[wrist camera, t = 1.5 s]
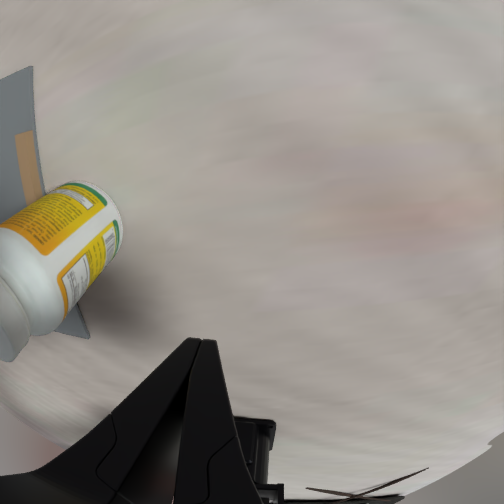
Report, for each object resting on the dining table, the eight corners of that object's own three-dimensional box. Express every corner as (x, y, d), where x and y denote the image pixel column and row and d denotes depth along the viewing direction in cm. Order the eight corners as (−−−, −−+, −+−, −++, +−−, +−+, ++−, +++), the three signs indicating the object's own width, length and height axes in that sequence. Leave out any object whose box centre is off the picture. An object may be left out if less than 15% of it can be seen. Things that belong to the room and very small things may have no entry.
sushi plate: (260, 507, 48) (259, 522, 45) (317, 471, 33) (318, 494, 30) (373, 506, 50) (374, 518, 46) (457, 459, 35) (462, 475, 32)
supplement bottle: (141, 246, 17) (52, 377, 8) (80, 268, 18) (-2, 375, 10) (98, 162, 14) (-39, 250, 6) (41, 198, 16) (-68, 283, 7)
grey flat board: (90, 336, 21) (85, 345, 20) (25, 321, 22) (19, 327, 21) (32, 66, 11) (21, 66, 10) (-33, 98, 12) (-43, 101, 11)
